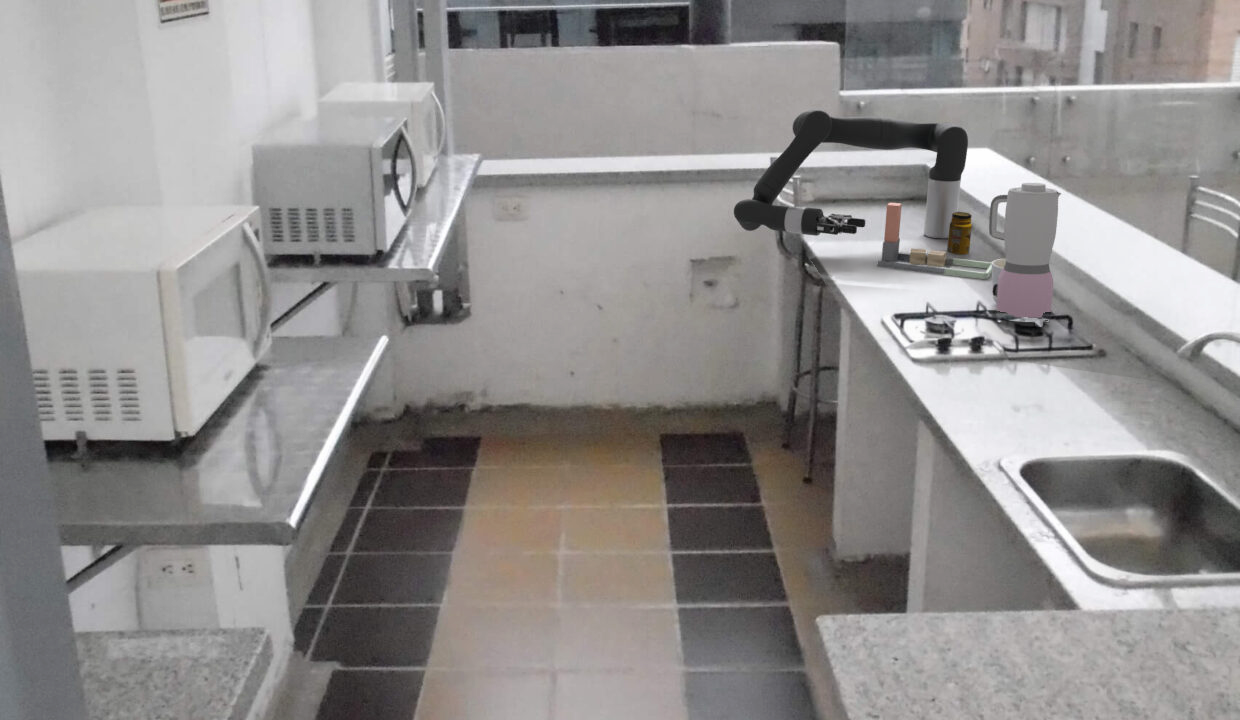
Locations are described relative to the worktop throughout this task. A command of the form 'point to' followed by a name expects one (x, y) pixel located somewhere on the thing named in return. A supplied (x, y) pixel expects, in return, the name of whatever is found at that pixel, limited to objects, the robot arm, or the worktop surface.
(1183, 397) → the worktop surface
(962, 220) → the condiment
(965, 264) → the tray
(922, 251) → the wooden cube
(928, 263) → the chip
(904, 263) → the slot board
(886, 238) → the pink and grey block
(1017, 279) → the blender
